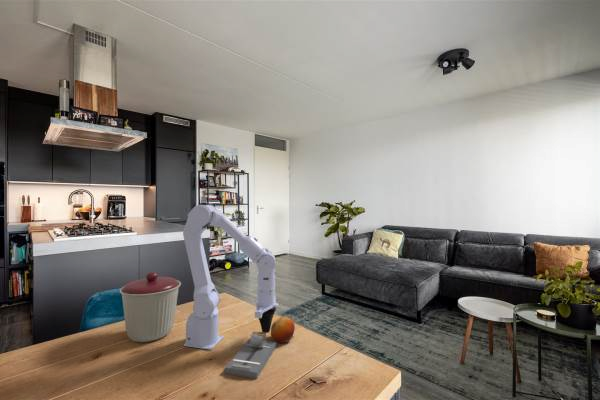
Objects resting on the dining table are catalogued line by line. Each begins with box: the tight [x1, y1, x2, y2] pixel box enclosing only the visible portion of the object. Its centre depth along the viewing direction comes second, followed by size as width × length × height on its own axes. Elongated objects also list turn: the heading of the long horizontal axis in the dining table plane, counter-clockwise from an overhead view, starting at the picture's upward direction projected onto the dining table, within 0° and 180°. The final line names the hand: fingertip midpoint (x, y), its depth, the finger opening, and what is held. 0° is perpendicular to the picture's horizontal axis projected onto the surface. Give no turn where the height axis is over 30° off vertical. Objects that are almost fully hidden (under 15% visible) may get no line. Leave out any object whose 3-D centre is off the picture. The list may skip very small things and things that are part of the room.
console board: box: [224, 337, 277, 380], centre depth 77 cm, size 9×16×2 cm, turn 167°
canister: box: [119, 271, 182, 343], centre depth 91 cm, size 18×18×21 cm
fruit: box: [270, 316, 296, 344], centre depth 89 cm, size 8×8×8 cm
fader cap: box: [250, 330, 267, 348], centre depth 81 cm, size 4×2×4 cm, turn 77°
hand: (265, 331), depth 88 cm, fingers closed
